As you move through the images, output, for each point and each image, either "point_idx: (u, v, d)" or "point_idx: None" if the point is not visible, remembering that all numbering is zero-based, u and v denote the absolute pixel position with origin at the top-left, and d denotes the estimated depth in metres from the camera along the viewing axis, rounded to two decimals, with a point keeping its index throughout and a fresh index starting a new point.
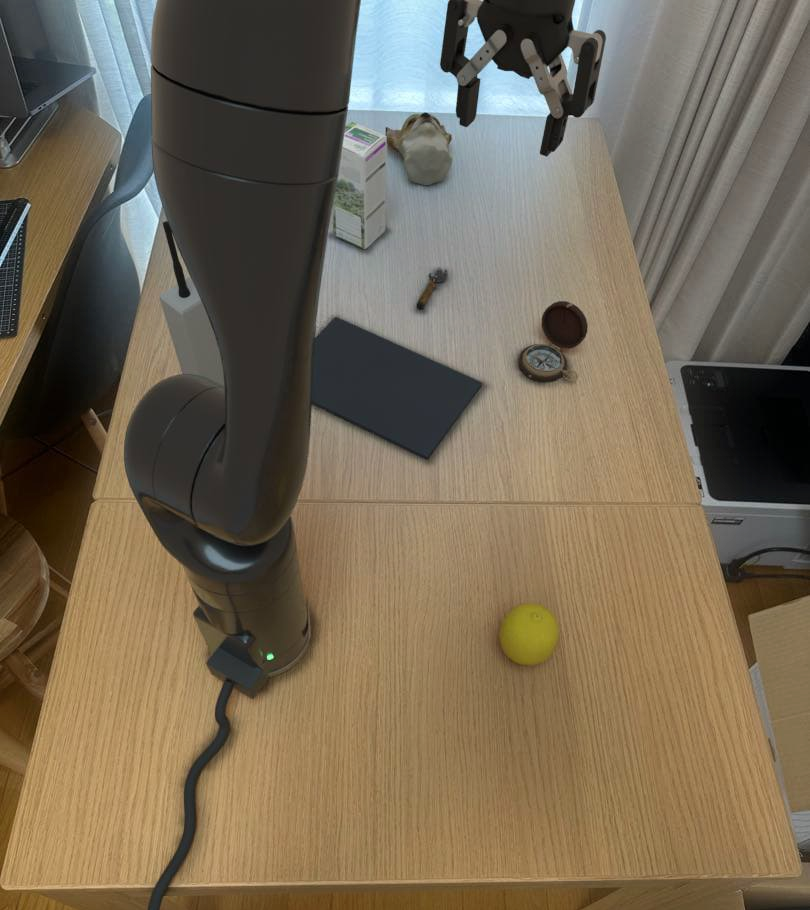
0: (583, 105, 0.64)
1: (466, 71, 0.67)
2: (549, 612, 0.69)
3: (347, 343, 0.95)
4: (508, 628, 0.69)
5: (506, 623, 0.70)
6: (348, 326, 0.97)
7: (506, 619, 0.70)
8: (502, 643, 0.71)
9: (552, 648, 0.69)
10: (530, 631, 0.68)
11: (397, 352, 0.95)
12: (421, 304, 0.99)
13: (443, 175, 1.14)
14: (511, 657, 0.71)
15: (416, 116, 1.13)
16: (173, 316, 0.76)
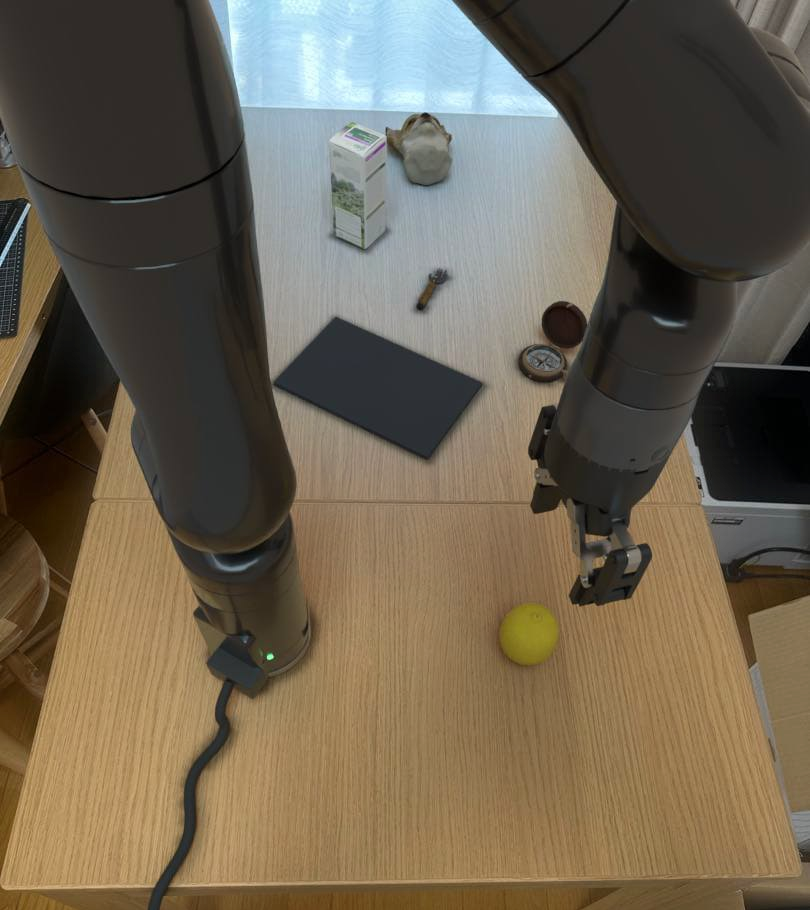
0: (601, 599, 0.51)
1: (540, 473, 0.57)
2: (549, 612, 0.69)
3: (347, 343, 0.95)
4: (508, 628, 0.69)
5: (506, 623, 0.70)
6: (348, 326, 0.97)
7: (506, 619, 0.70)
8: (502, 643, 0.71)
9: (552, 648, 0.69)
10: (530, 631, 0.68)
11: (397, 352, 0.95)
12: (421, 304, 0.99)
13: (443, 175, 1.14)
14: (511, 657, 0.71)
15: (416, 116, 1.13)
16: None
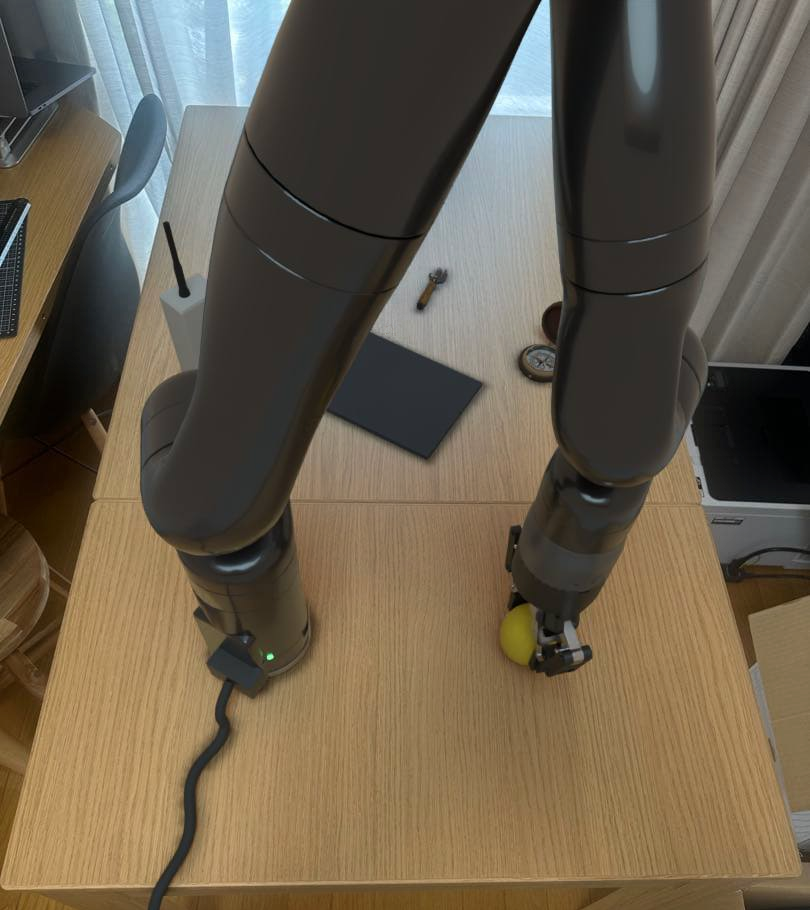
0: (550, 674, 0.64)
1: (514, 585, 0.69)
2: None
3: None
4: (508, 628, 0.69)
5: (506, 623, 0.70)
6: None
7: (506, 619, 0.70)
8: (502, 643, 0.71)
9: None
10: (530, 631, 0.68)
11: (397, 352, 0.95)
12: (421, 304, 0.99)
13: None
14: (511, 657, 0.71)
15: None
16: (173, 316, 0.76)
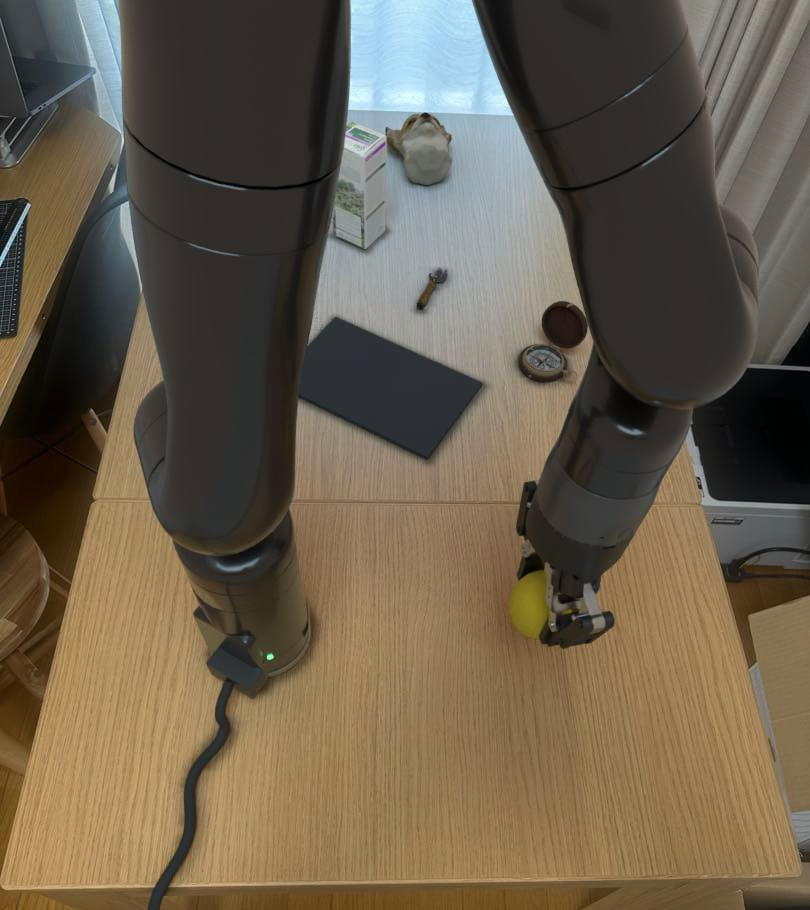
0: (565, 645, 0.57)
1: None
2: None
3: (347, 343, 0.95)
4: (519, 597, 0.63)
5: (516, 592, 0.63)
6: (348, 326, 0.97)
7: (516, 587, 0.64)
8: (511, 614, 0.64)
9: None
10: (543, 599, 0.61)
11: (397, 352, 0.95)
12: (421, 304, 0.99)
13: (443, 175, 1.14)
14: (520, 629, 0.64)
15: (416, 116, 1.13)
16: None
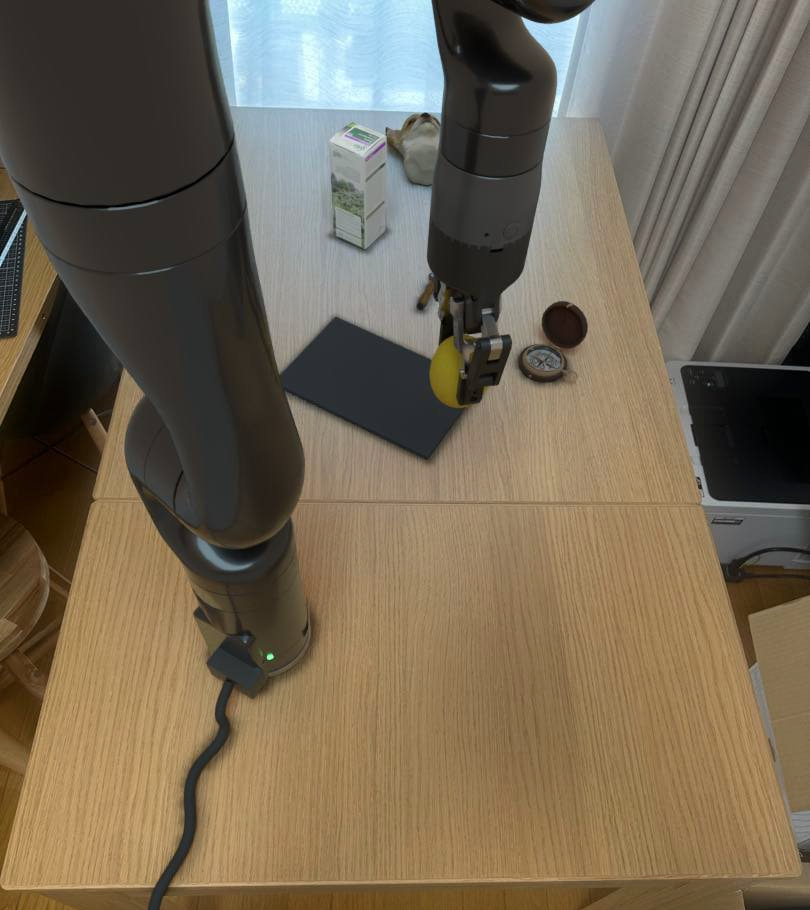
0: (472, 383, 0.60)
1: None
2: None
3: (347, 343, 0.95)
4: (436, 358, 0.65)
5: (434, 354, 0.65)
6: (348, 326, 0.97)
7: (435, 352, 0.66)
8: (431, 380, 0.66)
9: None
10: (457, 355, 0.63)
11: (397, 352, 0.95)
12: (421, 304, 0.99)
13: None
14: (440, 394, 0.66)
15: (416, 116, 1.13)
16: None
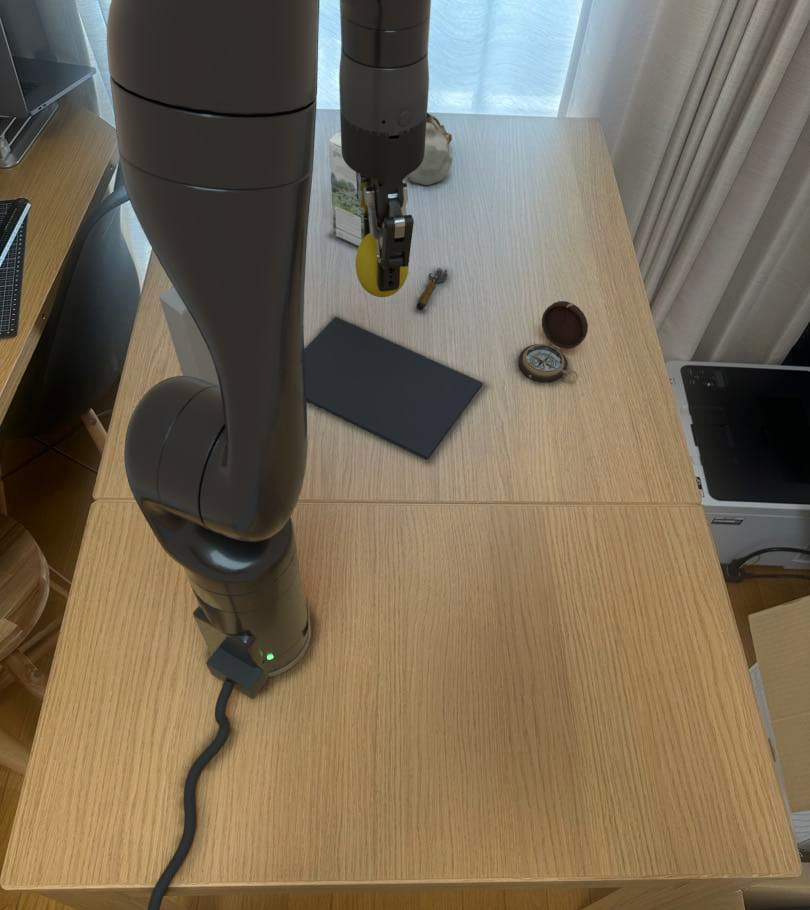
0: None
1: (362, 207, 0.75)
2: None
3: (347, 343, 0.95)
4: (359, 249, 0.75)
5: None
6: (348, 326, 0.97)
7: None
8: (357, 270, 0.77)
9: (400, 268, 0.75)
10: None
11: (397, 352, 0.95)
12: (421, 304, 0.99)
13: (443, 175, 1.14)
14: (365, 283, 0.77)
15: None
16: (173, 316, 0.76)
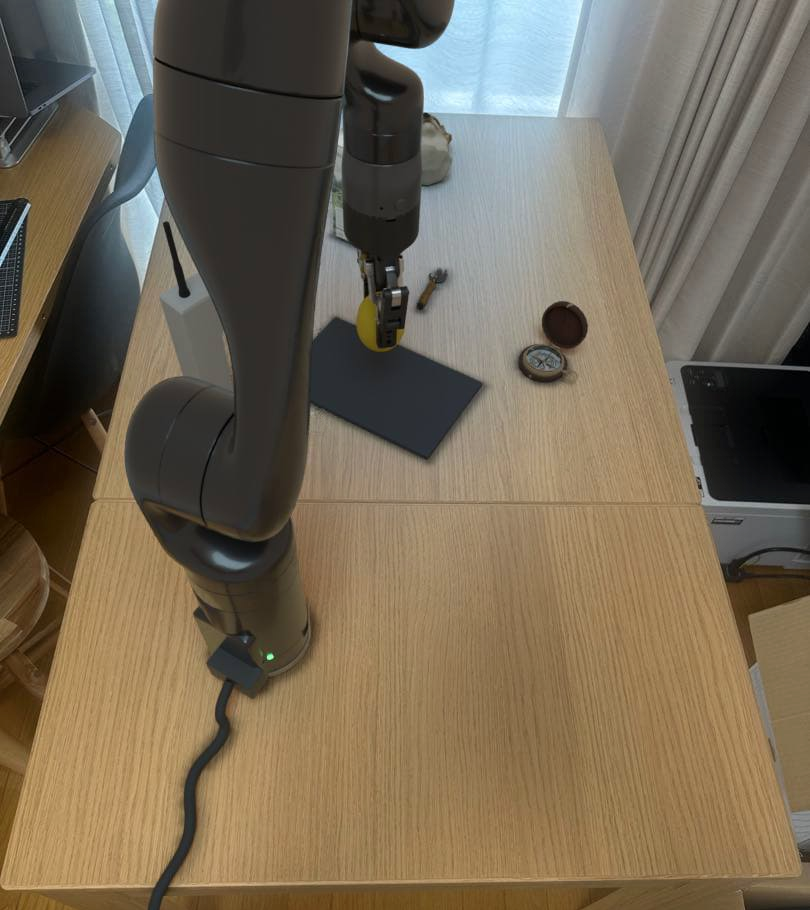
0: (383, 326, 0.77)
1: (362, 272, 0.82)
2: None
3: (347, 343, 0.95)
4: (360, 310, 0.82)
5: (359, 308, 0.83)
6: (348, 326, 0.97)
7: (359, 306, 0.83)
8: (357, 328, 0.84)
9: None
10: None
11: (397, 352, 0.95)
12: (421, 304, 0.99)
13: (443, 175, 1.14)
14: (365, 340, 0.84)
15: None
16: (173, 316, 0.76)
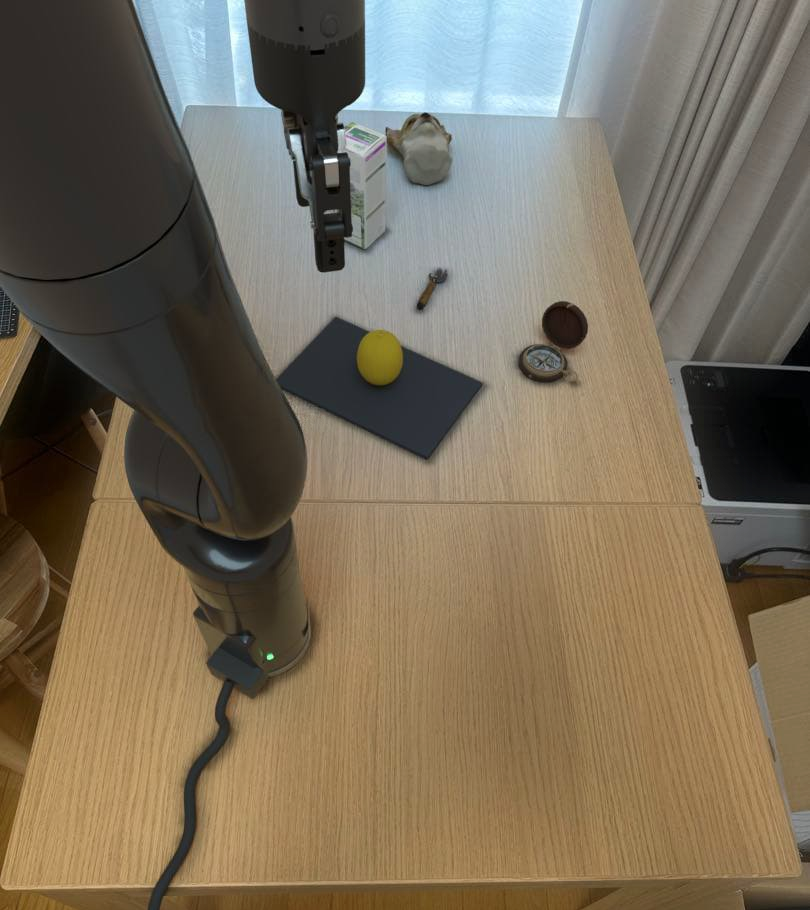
0: (319, 229, 0.52)
1: None
2: None
3: (347, 343, 0.95)
4: (360, 347, 0.87)
5: (359, 345, 0.87)
6: (348, 326, 0.97)
7: (360, 343, 0.88)
8: (358, 364, 0.88)
9: (395, 363, 0.87)
10: (375, 345, 0.85)
11: None
12: (421, 304, 0.99)
13: (443, 175, 1.14)
14: (365, 375, 0.88)
15: (416, 116, 1.13)
16: None
